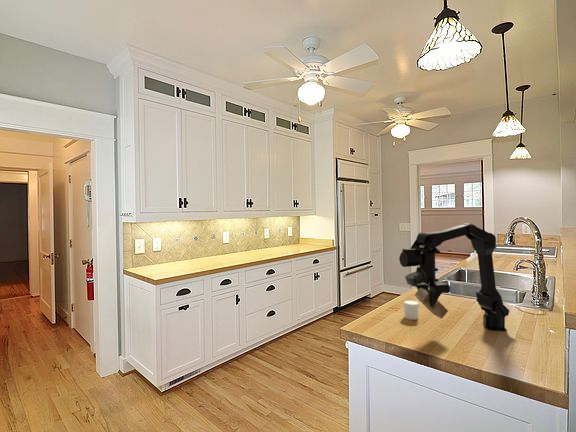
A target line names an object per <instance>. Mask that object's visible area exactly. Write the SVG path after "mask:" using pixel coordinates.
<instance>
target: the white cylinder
mask: <svg viewBox="0 0 576 432" xmlns="http://www.w3.org/2000/svg"><path fill="white" fill-rule="evenodd" d="M402 304H403V312H404V313H403V314H404V318H405V319H407V320H412V321H413V320H414V321H415V320H418V319H419V312H420V311H419V310H420V301H416V300H412V299H411V300H410V299H408V300H407V299H405V300H403V301H402Z"/></svg>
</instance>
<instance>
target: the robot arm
mask: <svg viewBox="0 0 576 432" xmlns="http://www.w3.org/2000/svg"><path fill="white" fill-rule="evenodd" d="M463 236H465V237H466V238H467V239H468V240H470V243H471V245H472V248H473V249H474V251H475V253H476V254H477V263H478V269H479V278H480V290H479V291H477V292H476V293H475V294H476V295H475V296H476V302H477V303H478V305H479V306H480V309H481V310H482V311H484V314H482V316H483V317H482V321H483V322H482V324H483V326H484V327H486V328H487V330H490V331H505V332H506V331H507V330H508V329H507V328H506V327H505V326H506V321H505V320H506V319H505V318H506V317H507V316H509V314H510V309H509V308H508V307H507V306H506V305H505V304H504V301H503V298H502V295H501V294H500V292H499V291H498V290H497V287H496V286H497V285H496V276H495V269H494V260H493V254H494V251H495V250H496V248H497V244H496V243H497V239H496V238H497V237H496V235H494V234H493V233H492V232H488V231H486V230H484V229H482V228H480V227H477V226H476V225H475V224H473V223H461V224H459V225H455V226H452V227H449V228H445V229H442V230H438V231H423V232H419V233H418V234H417V236H416V239H415V241H414V242H413V243H412V245H411V246H410V248H402V251H401V253H400V255H399V260H398V261H399V263H400V265H401V266H402V267H403V268H405V267H406V268H408V267H416V270H415V271H413V272H411V273H409V274H406V275H404V278H405V280H406V283H407V285H410V286H411V287H415V288H416V289H417V291H418V290H419V289H420V288H422V289H425V290H426V291H427V292H428V293H429V298H430V306H431V307H434V305H435V304H436V302H437V300H438V301H439V298H440V296H441V295H442V294H443V293H451V286H450V285H449V284H448V283H445V282H443V281H441V282H439V278H437V275H436V272H438V271H439V269H438V267H436V254H441V251H440V250H439V249H438V248H437V247H439V246H441V245H442V243H445V242H447V241H450V240H453V239H457V238H460V237H463Z"/></svg>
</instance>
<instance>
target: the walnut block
mask: <svg viewBox="0 0 576 432" xmlns="http://www.w3.org/2000/svg"><path fill="white" fill-rule="evenodd" d="M414 297H415V298H417V300H418V302H419V303H422V305H424V306H425V308H427V309H428V311H430V313H432V315H434V316H435V317H438V318H439V319H443V318H444V317H445V316H446V314H447V313H448V312H449V310H448V309H447V308H446V307H445V306H444V305H443V304H442V303H441V302H440V301H439V299H438V300H437V302H436V304H435V305H434V307H431V306H430V298H429V293H428V292H427V291H426V290H425V289H422V288H420V289H419V290H418V289H417V291H416V292H415V294H414Z"/></svg>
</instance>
